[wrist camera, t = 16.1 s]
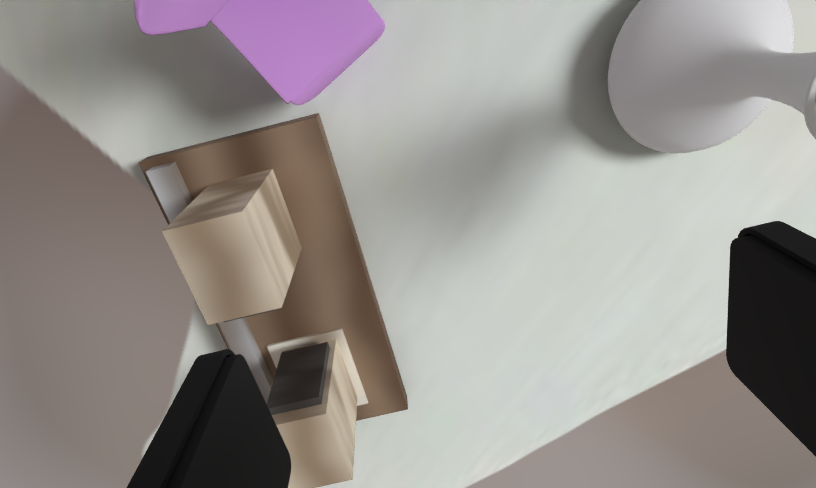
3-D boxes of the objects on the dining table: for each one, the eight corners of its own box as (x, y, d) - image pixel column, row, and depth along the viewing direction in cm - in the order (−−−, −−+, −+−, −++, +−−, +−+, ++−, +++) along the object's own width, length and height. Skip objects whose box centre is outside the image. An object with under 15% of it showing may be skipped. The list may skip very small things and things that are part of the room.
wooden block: (306, 409, 41) (290, 492, 34) (278, 345, 39) (255, 422, 31) (357, 397, 41) (352, 479, 34) (333, 332, 38) (323, 406, 31)
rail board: (318, 113, 33) (297, 146, 25) (407, 396, 44) (413, 491, 35) (148, 156, 34) (68, 204, 25) (275, 426, 44) (249, 526, 35)
